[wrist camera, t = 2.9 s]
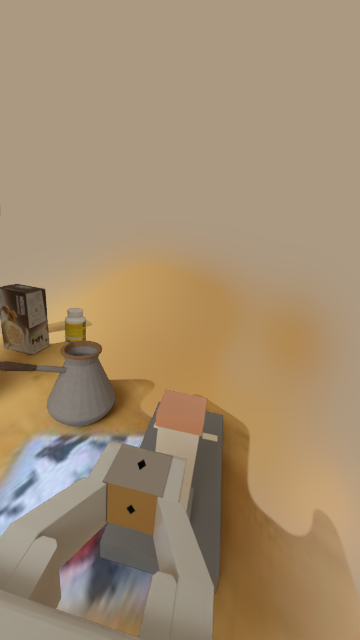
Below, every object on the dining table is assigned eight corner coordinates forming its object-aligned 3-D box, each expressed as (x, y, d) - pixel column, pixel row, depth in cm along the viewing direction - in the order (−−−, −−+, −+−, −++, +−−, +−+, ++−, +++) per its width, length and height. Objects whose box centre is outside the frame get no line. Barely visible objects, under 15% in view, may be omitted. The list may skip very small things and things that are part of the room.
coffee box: (50, 345, 67) (47, 288, 62) (32, 355, 62) (26, 293, 56) (23, 339, 69) (17, 283, 64) (2, 348, 63) (-6, 287, 58)
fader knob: (143, 517, 27) (152, 412, 22) (153, 483, 31) (163, 388, 26) (188, 529, 26) (207, 424, 22) (192, 493, 30) (210, 397, 25)
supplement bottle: (86, 345, 70) (86, 312, 67) (65, 346, 68) (64, 313, 65) (85, 337, 75) (84, 306, 72) (65, 338, 73) (64, 307, 70)
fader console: (100, 557, 25) (100, 540, 25) (158, 412, 47) (159, 401, 46) (215, 593, 24) (219, 576, 23) (220, 426, 45) (222, 414, 45)
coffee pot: (97, 386, 53) (97, 320, 48) (127, 415, 45) (131, 341, 41) (-33, 433, 38) (-51, 345, 33) (-19, 488, 30) (-40, 385, 26)
